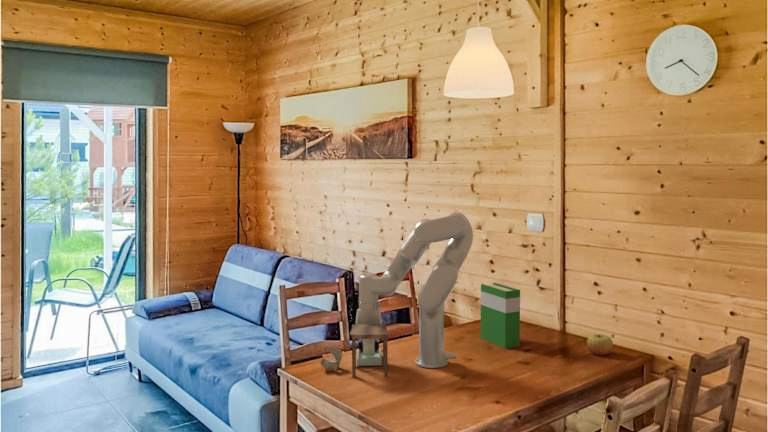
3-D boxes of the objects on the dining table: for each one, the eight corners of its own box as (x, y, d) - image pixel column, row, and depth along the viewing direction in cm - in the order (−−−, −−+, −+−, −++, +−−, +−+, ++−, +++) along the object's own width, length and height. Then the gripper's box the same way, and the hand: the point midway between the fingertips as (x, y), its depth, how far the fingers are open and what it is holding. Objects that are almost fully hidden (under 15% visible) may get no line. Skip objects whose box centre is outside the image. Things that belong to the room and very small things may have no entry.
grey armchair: (380, 347, 259) (379, 334, 258) (381, 365, 236) (381, 351, 235) (357, 347, 259) (357, 335, 258) (357, 365, 236) (357, 352, 235)
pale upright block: (375, 352, 245) (375, 334, 244) (375, 356, 240) (375, 338, 239) (362, 352, 244) (362, 334, 244) (362, 356, 239) (362, 338, 239)
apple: (585, 355, 247) (586, 336, 246) (587, 348, 256) (588, 329, 255) (612, 358, 243) (612, 338, 242) (612, 351, 252) (613, 332, 251)
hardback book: (480, 337, 273) (480, 284, 271) (494, 335, 276) (494, 282, 274) (505, 348, 257) (505, 291, 255) (519, 346, 260) (520, 290, 258)
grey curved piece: (325, 371, 226) (321, 345, 230) (319, 376, 231) (316, 350, 235) (347, 369, 229) (342, 343, 233) (340, 374, 234) (337, 348, 239)
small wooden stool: (386, 364, 237) (386, 324, 236) (387, 377, 224) (387, 334, 222) (352, 365, 237) (352, 324, 236) (352, 378, 223) (351, 335, 222)
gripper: (390, 303, 244) (390, 348, 246) (346, 303, 244) (347, 348, 245) (391, 308, 237) (391, 354, 238) (346, 308, 236) (346, 354, 238)
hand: (368, 351), depth 242 cm, fingers closed on pale upright block, 5 cm apart
